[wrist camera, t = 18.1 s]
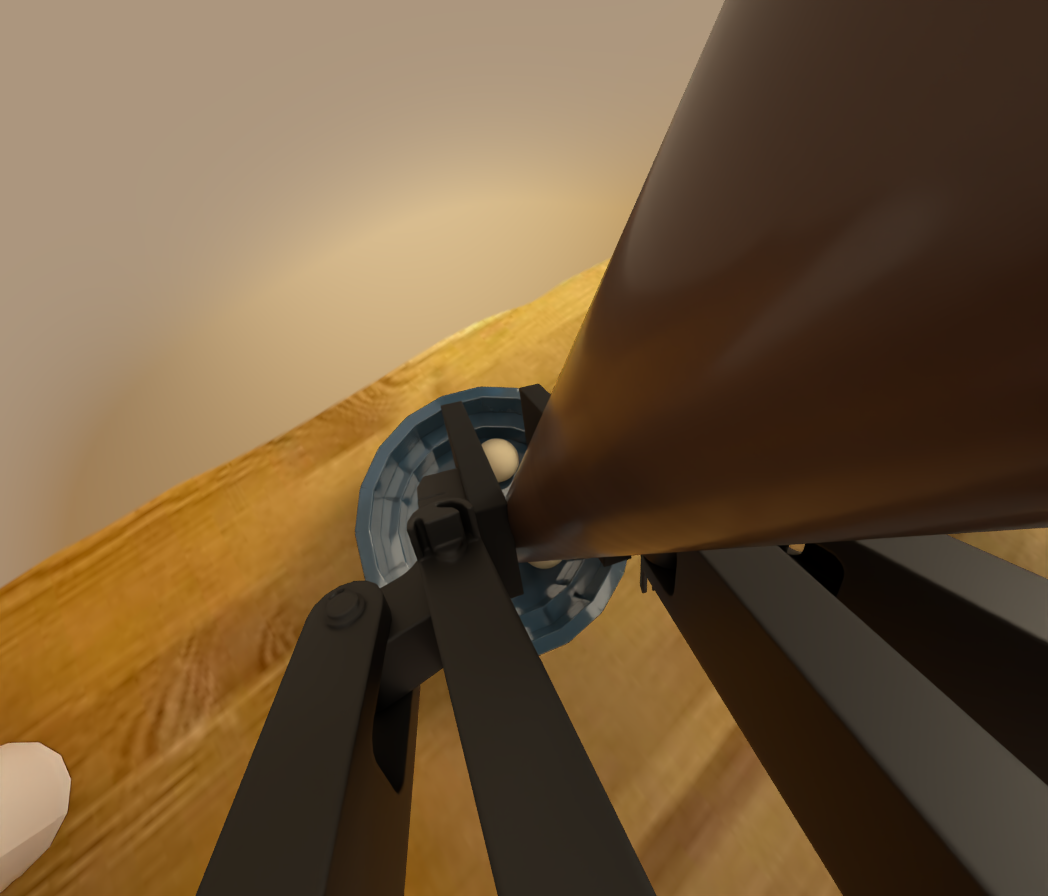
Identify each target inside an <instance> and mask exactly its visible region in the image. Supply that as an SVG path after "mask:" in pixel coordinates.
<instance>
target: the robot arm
mask: <svg viewBox="0 0 1048 896" xmlns="http://www.w3.org/2000/svg"><path fill="white" fill-rule="evenodd" d="M519 392H520V399H521V407H522V414H523V421H524V428H525V436H526V443H527V448H528V446H529V443H530V441H531V439H532V437H533V434H534V432H535V430H536V427H537V425H538V423H539V421H540V418H541V416H542V414H543V412H544V409H545V407H546V405H547V403H548V400H549V398H550V396H551V394H549V393H548V392H547V391H546V390H545V389H544V388H543V387H542V386H541V385H539V384H535V385H530V386H526V387H521V388H519ZM440 406H441V410H442V414H443V418H444V422H445V426H446V430H447V434H448V439H449V443H450V447H451V451H452V455H453V459H454V463H455V467H456V468H455V469H451V470H448V471H444V472H440V473H436V474H432V475H428V476H424V477H423V478H422V480H421V482H420V483H419V485H418V487H417V497H418V509H417V510H416V511H415V512H414V513H413V514H412V515H411V517H410V518H409V520H408V521H407V533H408V535H409V538H410V541H411V544H412V547H413V550H414V552H415V555H416V558H417V561H416V562H415V564H414V565H413V566H412V567H411V568H410V569H409V570H408V571H407V572H406V573H405V574H403V575H402V576H400V577H399V578H397V579H396V580H394V581H392V582H390V583H388V584H387V585H385V586H383V587H381V588H380V587H379V586H378V585H377V584H376V583H373V582H370V581H367V580H365V581H353V582H350V583H347V584H344V585H341V586H339V587H337V588H336V589H334V590H332V591H331V592H329V593H328V594H326V595H325V596H324V597H323V598H322V599H321V600H320V601H319V602H318V603H317V604H316V605H315V606H314V607H313V609H312V610H311V612H310V614H309V615H308V617H307V619H306V621H305V624H304V626H303V629H302V631H301V634H300V636H299V639H298V641H297V644H296V646H295V649H294V651H293V654H292V656H291V659H290V661H289V664H288V666H287V669H286V671H285V674H284V676H283V679H282V681H281V684H280V686H279V689H278V691H277V694H276V696H275V699H274V701H273V704H272V706H271V709H270V711H269V714H268V716H267V719H266V721H265V724H264V726H263V729H262V731H261V734H260V736H259V739H258V741H257V744H256V746H255V749H254V751H253V754H252V756H251V759H250V761H249V764H248V766H247V769H246V771H245V774H244V776H243V779H242V781H241V784H240V786H239V789H238V791H237V794H236V796H235V799H234V801H233V804H232V806H231V808H230V811H229V813H228V816H227V818H226V821H225V823H224V826H223V828H222V831H221V833H220V836H219V838H218V841H217V843H216V846H215V848H214V851H213V853H212V856H211V858H210V861H209V863H208V866H207V868H206V871H205V873H204V876H203V878H202V881H201V883H200V886H199V888H198V891H197V893H196V896H404V888H405V875H406V862H407V850H408V837H409V824H410V811H411V799H412V786H413V773H414V761H415V748H416V735H417V723H418V710H419V697H420V684H422V683H423V682H424V681H426V680H427V679H428V678H430V677H431V676H433V675H434V674H435V673H437V672H438V671H439V670H441V669H442V668H443V669H444V673H445V677H446V681H447V686H448V690H449V694H450V698H451V702H452V706H453V711H454V715H455V719H456V723H457V727H458V731H459V736H460V740H461V744H462V748H463V752H464V756H465V761H466V765H467V769H468V773H469V777H470V782H471V786H472V790H473V794H474V798H475V802H476V807H477V811H478V815H479V819H480V823H481V827H482V832H483V836H484V840H485V844H486V848H487V852H488V857H489V861H490V865H491V869H492V873H493V877H494V882H495V886H496V890H497V894H498V896H656V894H655V892H654V890H653V888H652V885H651V883H650V881H649V879H648V877H647V875H646V873H645V871H644V869H643V867H642V865H641V863H640V861H639V859H638V857H637V855H636V853H635V851H634V849H633V847H632V845H631V843H630V841H629V839H628V837H627V835H626V833H625V830H624V828H623V826H622V824H621V822H620V820H619V818H618V816H617V814H616V812H615V810H614V808H613V806H612V804H611V802H610V800H609V798H608V796H607V794H606V792H605V790H604V788H603V786H602V784H601V782H600V780H599V778H598V776H597V773H596V771H595V769H594V767H593V765H592V763H591V761H590V759H589V757H588V755H587V753H586V751H585V749H584V747H583V745H582V743H581V741H580V739H579V737H578V735H577V733H576V731H575V729H574V727H573V725H572V723H571V721H570V719H569V716H568V714H567V712H566V710H565V708H564V706H563V704H562V702H561V700H560V698H559V696H558V694H557V692H556V690H555V688H554V686H553V684H552V682H551V680H550V678H549V676H548V674H547V672H546V670H545V668H544V666H543V664H542V661H541V659H540V657H539V655H538V653H537V651H536V649H535V647H534V645H533V643H532V641H531V639H530V637H529V635H528V633H527V631H526V629H525V627H524V625H523V623H522V621H521V619H520V617H519V615H518V613H517V611H516V609H515V607H514V604H513V602H512V600H511V598H514V597H517V596H520V595H523V594H524V591H523V586H522V580H521V575H520V569H519V563H518V558H517V552H516V547H515V541H514V537H513V535H512V532H511V529H510V526H509V522H508V514H507V501H506V499H505V496H504V494H503V492H502V490H501V487H500V485H499V483H498V481H497V479H496V476H495V474H494V472H493V470H492V467H491V465H490V463H489V461H488V459H487V456H486V454H485V452H484V450H483V447H482V445H481V443H480V441H479V438H478V436H477V434H476V432H475V430H474V427H473V425H472V423H471V421H470V418H469V416H468V414H467V412H466V410H465V407H464V405H463V403H462V401H458V402H454V403H449V404H445V405H440ZM598 558H599V560H600V561H601V563H602V564H603V566H604V567H607V566H610V565H613V564H616V563H619V562H622V561H625V560H628V559H631V555H628V556H613V557H598ZM647 578H648V580H649V582H650V583H651V585H652V590H653V591H654V590H655V591H656V593H657V595H658V596H659V598H660V599H661V601H662V603H663V604H664V606H665V608H666V609H667V611H668V612H669V614H670V616H671V617H672V619H673V621H674V622H675V624H676V625H677V627H678V629H679V630H680V632H681V634H682V635H683V637H684V638H685V640H686V642H687V643H688V645H689V646H690V648H691V650H692V651H693V653H694V655H695V656H696V658H697V659H698V661H699V663H700V664H701V666H702V668H703V669H704V671H705V672H706V674H707V676H708V677H709V679H710V681H711V682H712V684H713V685H714V687H715V689H716V690H717V692H718V694H719V695H720V697H721V698H722V700H723V702H724V703H725V705H726V707H727V708H728V710H729V711H730V713H731V715H732V716H733V718H734V719H735V721H736V723H737V724H738V726H739V728H740V729H741V731H742V732H743V734H744V736H745V737H746V739H747V741H748V742H749V744H750V745H751V747H752V749H753V750H754V752H755V754H756V755H757V757H758V758H759V760H760V762H761V763H762V765H763V767H764V768H765V770H766V771H767V773H768V775H769V776H770V778H771V779H772V781H773V783H774V784H775V786H776V788H777V789H778V791H779V792H780V794H781V796H782V797H783V799H784V801H785V802H786V804H787V805H788V807H789V809H790V810H791V812H792V814H793V815H794V817H795V818H796V820H797V822H798V823H799V825H800V827H801V828H802V830H803V831H804V833H805V835H806V836H807V838H808V840H809V841H810V843H811V844H812V846H813V848H814V849H815V851H816V852H817V854H818V856H819V857H820V859H821V861H822V862H823V864H824V865H825V867H826V869H827V870H828V872H829V874H830V875H831V877H832V878H833V880H834V882H835V883H836V885H837V887H838V888H839V890H840V891H841V893H842V895H843V896H1048V579H1046V578H1044V577H1042V576H1039V575H1037V574H1035V573H1033V572H1030V571H1028V570H1026V569H1023V568H1021V567H1019V566H1017V565H1014V564H1012V563H1010V562H1008V561H1005V560H1003V559H1001V558H998V557H996V556H994V555H992V554H989V553H987V552H985V551H983V550H980V549H978V548H976V547H973V546H971V545H969V544H967V543H964V542H962V541H960V540H958V539H955V538H953V537H951V536H948V535H946V534H942V535H927V536H912V537H897V538H882V539H867V540H852V541H837V542H822V543H807V544H805V546H804V550H803V551H802V552H799V551H796V550H793V549H791V548H790V547H789V545H777V546H763V547H748V548H733V549H718V550H703V551H688V552H673V553H658V554H643V555H641V572H640V587H641V590H642V593H646V592H647Z"/></svg>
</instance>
